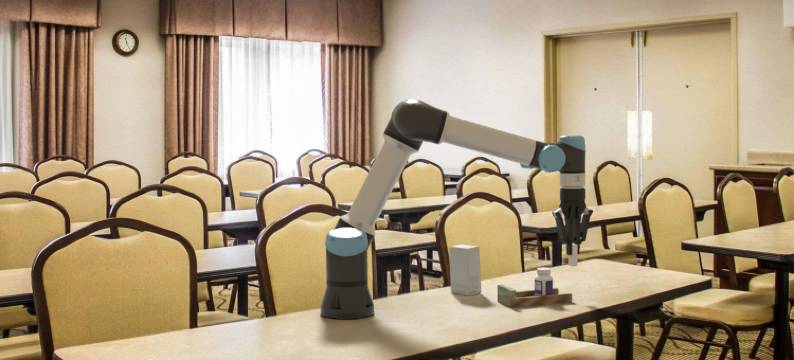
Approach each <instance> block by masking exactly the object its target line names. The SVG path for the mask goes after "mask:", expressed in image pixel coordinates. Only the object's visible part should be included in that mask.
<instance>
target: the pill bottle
mask: <svg viewBox="0 0 794 360" xmlns="http://www.w3.org/2000/svg"><path fill="white" fill-rule="evenodd" d="M551 274H552V273H551V268H550V267H537V269H536V275H535V276H534V290H535V296H542V295H553V288H554V277H553V276H552V275H551Z"/></svg>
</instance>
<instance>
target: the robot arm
mask: <svg viewBox="0 0 794 360" xmlns="http://www.w3.org/2000/svg"><path fill="white" fill-rule="evenodd" d="M382 136H383V137H382V138H383V139H384V142H383V144H382V145H381V148H380V150H379V152H378V154H377V156H376V158H375V159H374V162H373V163H372V165H371V168H370V170H369V172H367V175H366V177H365V179H364V181H363V183H362V185H361V186H360V189H359V191H358V192H357V195H356V197H355V199H354V200H353V203H352V204H351V206H350V209H349V211H348V212H347V213H346V214H343V215H341V216H340V217H339V219H338V221H337V223H336V225H335V226H334V228H333V229H331V230H330V231H328V232H327V233H326V235H325V240H324V246H325V272H326V274H325V276H326V277H325V278H326V286H325V291H324V292H323V293H324V294H323V297H322V301H321V304H320V315H321V314H322V315H323V316H322V315H321V316H322V317H324V316H326V317H325V318H328V317H330V318H329V319H334V318H337V319H336V320H355V319H354V318H357V319H362V317H364V318H368V317H370V315H371V316H373V315H374V314H375V303H374V301H373V297H372V295H371V292H370V289H369V284H368V283H369V281H368V280H369V279H368V277H369V276H368V274H369V273H368V271H369V270H368V269H369V268H368V267H369V265H368V264H369V263H368V250H369V248H370V246H371V245H372V242H373V240H374V238H375V236H376V231H375V225H376V223H377V221H378V219H379V217H380V215H381V214H382V212H383V209H384V208H385V206H386V203H387V201H388V199H389V198H390V195H391V194H392V191H393V190H394V188H395V186H396V185H397V183H398V181H399V179H400V177H401V174H402V172H403V170H404V169H405V166H406V165H407V163H408V161H409V159H410V157H411V155H413V154H417V153H419V151H420V148H421V147H422V145H423V143H424V142H426V143H432V144H435V145H441V144H442V143H445V144H449V145H453V146H456V147H459V148H463V149H467V150H470V151H474V152H478V153H481V154H485V155H488V156H491V157H496V158H500V159H503V160H506V161H510V162H512V163H513V162H514V163H516V164H519V166H520V167H521V168H522V169H529V170H532V169H538V170H542V171H543V172H547V173H555V172H558V171H559V186H560V187H561V188H560V189H559V201H560V203H559V206H558V209H556V210H553V211H552V212H551V214H552V216H553V217H554V219H555V224H556V225H555V226H556V229H557V233H558V238H559V241H560V242H561V243H564V244H565V253H566V255H567V257H568V262H567V263H568V266H569V267H578V255H580V253H581V251H580V250H581V249H580V245H582V243H584V242H585V241H586V240H587V237H588V236H587V235H588V230H589V227H590V220H591V217H592V215H593V213H594V210H593V209H590V208H588V207H587V204H586V188H585V186H586V152H587V149H586V142H585V141H586V139H585V137H584V136H583V135H579V134H578V135H577V134H576V135H575V134H574V135H561V136H559V140H558V141H557V142H542V141H540V140H539V141H538V140H535V139H532V138H529V137H525V136H522V135H519V134H515V133H513V132H512V133H511V132H508V131H505V130H501V129H497V128H494V127H492V126H491V127H490V126H487V125H485V124H484V125H483V124H480V123H476V122H474V121H473V122H472V121H468V120H465V119H462V118H459V117H454V116H451V115H450V113H449V111H447V110H443V109H440V108H438V107H435V106H433V105H431V104H428V103H427V102H425V101H423V100H420V99H405V100H403V101H401V102H400V103H398V104H397V105H396V106H395V107H394V108H393V110H392V112H391V116H390V119H389V121H388V123H387V125H386V127H385V129H384V131H383V133H382ZM562 216H563V217H562ZM367 316H368V317H367Z"/></svg>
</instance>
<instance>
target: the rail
mask: <svg viewBox="0 0 794 360" xmlns="http://www.w3.org/2000/svg"><path fill="white" fill-rule="evenodd" d="M559 291H560V290H559V288H557V287H555V288H554V287H553V295H542V296H535V289H531V290H519V291H518V290H516V289H514V288H511V287H510V286H507V285H504V284H497V302H498V303H500V304H502V305H505V306H507V307H509V308H520V307H521V308H522V307H534V306H544V305H554V304H566V303H573V293H572V292H568V293H567V292H566V293H560V292H559Z"/></svg>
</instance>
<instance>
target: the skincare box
mask: <svg viewBox="0 0 794 360" xmlns="http://www.w3.org/2000/svg"><path fill="white" fill-rule="evenodd" d="M480 251H481V250H480V245H469V244H468V245H467V244H456V245H453V246H448V252H449V253H448V255H449V259H448V260H449V274H450V275H449V277H450V280H449V282H450V293H451V294H458V295H462V296H463V295H464V296H474V295H479V294H482V272H481V254H480Z"/></svg>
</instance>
